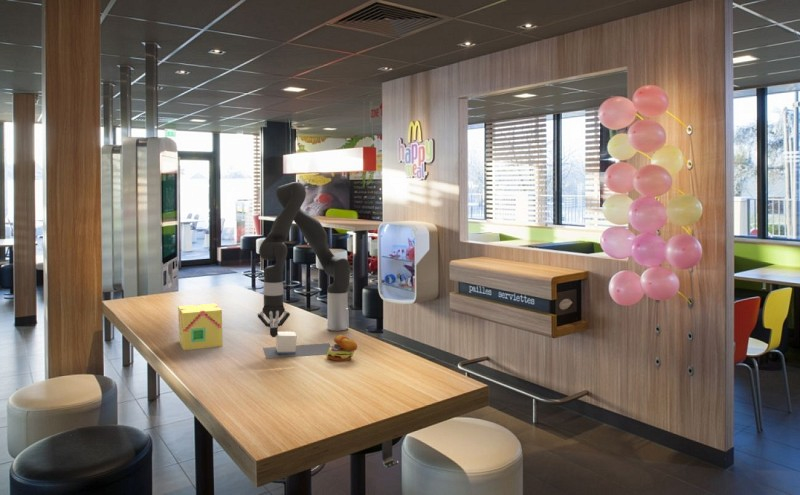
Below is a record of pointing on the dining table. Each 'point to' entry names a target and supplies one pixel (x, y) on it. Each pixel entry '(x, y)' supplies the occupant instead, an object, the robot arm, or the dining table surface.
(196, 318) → the toy block
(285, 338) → the cream cube
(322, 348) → the rubber mat
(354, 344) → the cheeseburger
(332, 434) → the dining table surface
